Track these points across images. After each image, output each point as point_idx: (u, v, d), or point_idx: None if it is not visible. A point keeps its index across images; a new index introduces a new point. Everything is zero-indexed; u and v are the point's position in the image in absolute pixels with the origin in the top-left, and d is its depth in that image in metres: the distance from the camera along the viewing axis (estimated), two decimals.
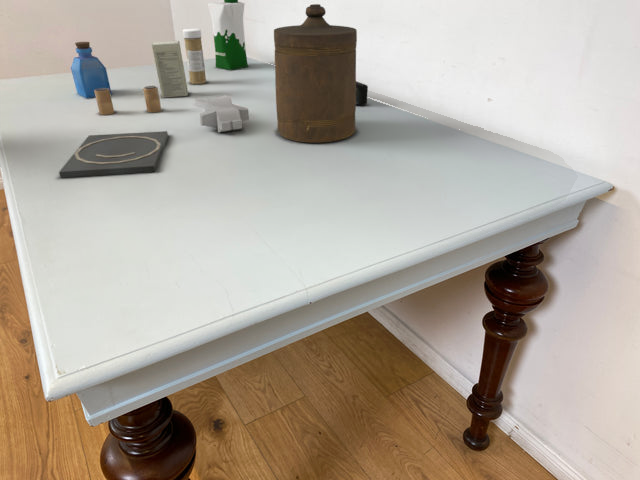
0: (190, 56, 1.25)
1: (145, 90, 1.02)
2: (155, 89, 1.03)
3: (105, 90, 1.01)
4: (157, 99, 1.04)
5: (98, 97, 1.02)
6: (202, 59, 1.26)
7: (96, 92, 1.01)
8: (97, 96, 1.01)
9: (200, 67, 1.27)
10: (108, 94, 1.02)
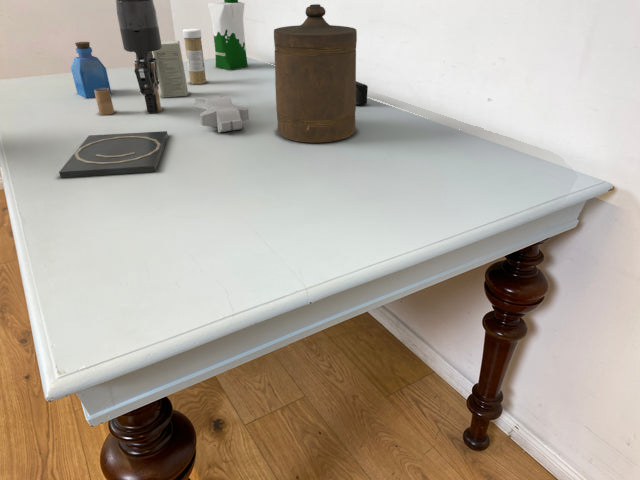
0: (190, 56, 1.25)
1: None
2: (155, 89, 1.03)
3: (105, 90, 1.01)
4: (157, 99, 1.04)
5: (98, 97, 1.02)
6: (202, 59, 1.26)
7: (96, 92, 1.01)
8: (97, 96, 1.01)
9: (200, 67, 1.27)
10: (108, 94, 1.02)
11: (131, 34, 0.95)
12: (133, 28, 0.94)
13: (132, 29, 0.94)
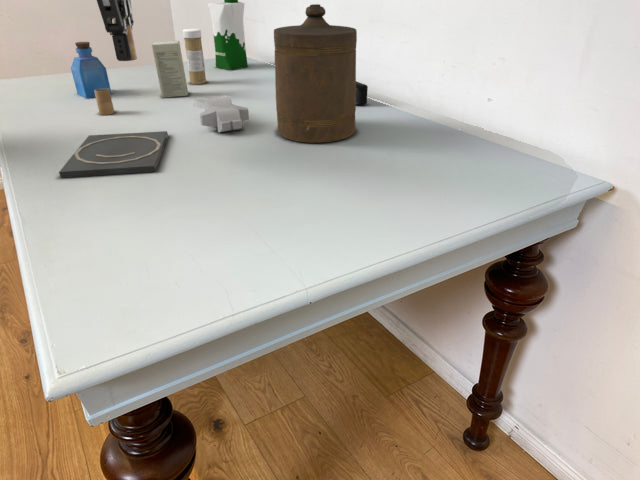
0: (190, 56, 1.25)
1: None
2: (127, 28, 0.75)
3: (105, 90, 1.01)
4: (130, 42, 0.76)
5: (98, 97, 1.02)
6: (202, 59, 1.26)
7: (96, 92, 1.01)
8: (97, 96, 1.01)
9: (200, 67, 1.27)
10: (108, 94, 1.02)
11: None
12: None
13: None
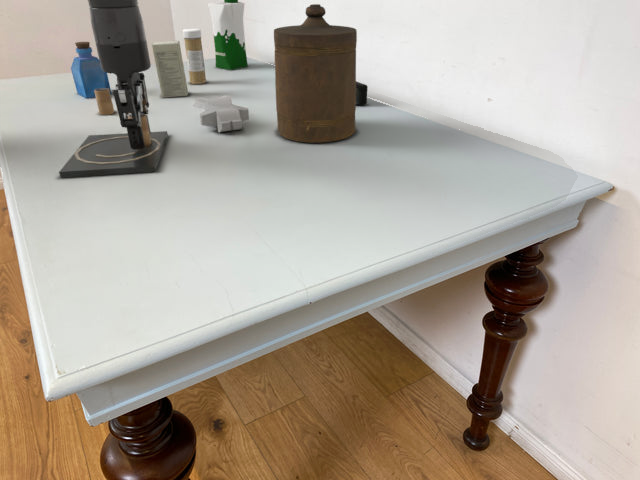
0: (190, 56, 1.25)
1: None
2: (143, 118, 0.81)
3: (105, 90, 1.01)
4: (146, 130, 0.82)
5: (98, 97, 1.02)
6: (202, 59, 1.26)
7: (96, 92, 1.01)
8: (97, 96, 1.01)
9: (200, 67, 1.27)
10: (108, 94, 1.02)
11: (110, 51, 0.72)
12: (112, 43, 0.72)
13: (111, 44, 0.72)
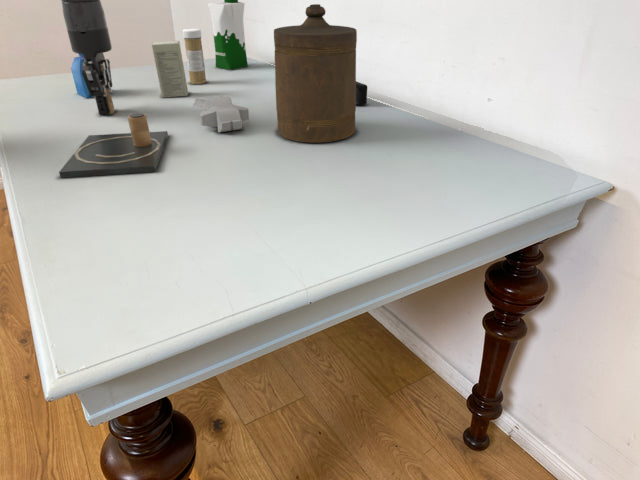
0: (190, 56, 1.25)
1: (130, 119, 0.80)
2: (143, 118, 0.81)
3: None
4: (146, 130, 0.82)
5: None
6: (202, 59, 1.26)
7: None
8: None
9: (200, 67, 1.27)
10: (108, 94, 1.02)
11: (78, 36, 0.93)
12: (79, 29, 0.93)
13: (78, 30, 0.93)
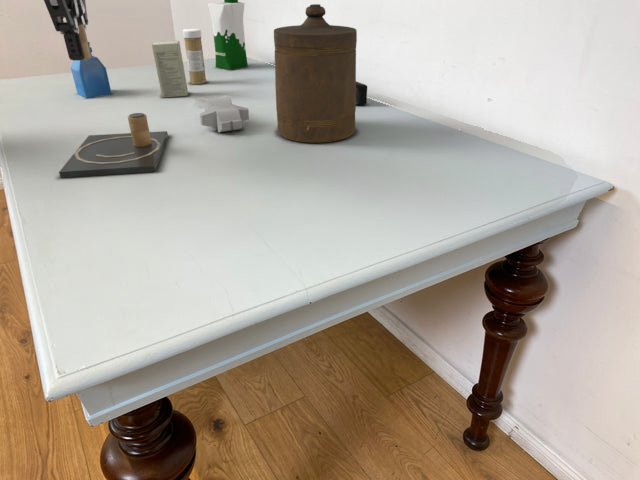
0: (190, 56, 1.25)
1: (130, 119, 0.80)
2: (143, 118, 0.81)
3: (78, 25, 0.74)
4: (146, 130, 0.82)
5: None
6: (202, 59, 1.26)
7: None
8: None
9: (200, 67, 1.27)
10: (82, 31, 0.75)
11: None
12: None
13: None
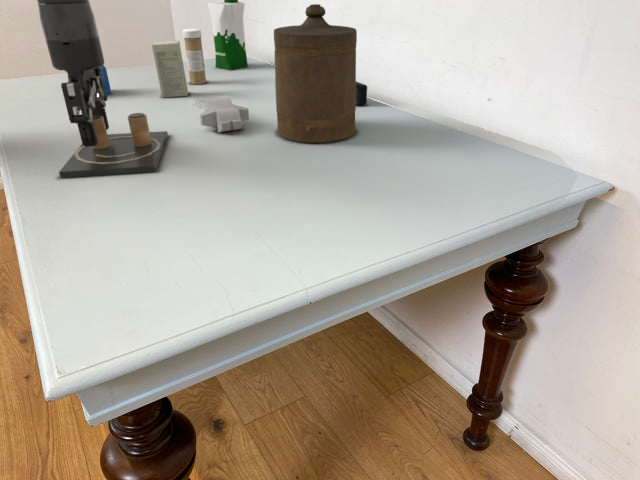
0: (190, 56, 1.25)
1: (130, 119, 0.80)
2: (143, 118, 0.81)
3: (98, 119, 0.79)
4: (146, 130, 0.82)
5: None
6: (202, 59, 1.26)
7: None
8: None
9: (200, 67, 1.27)
10: (102, 123, 0.80)
11: (59, 47, 0.71)
12: (61, 39, 0.70)
13: (60, 41, 0.71)
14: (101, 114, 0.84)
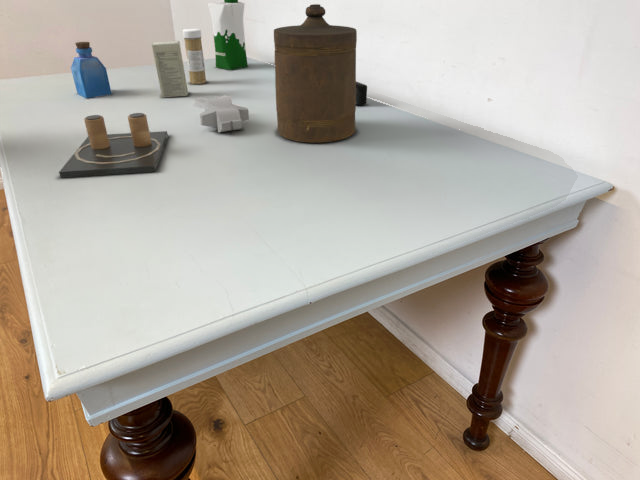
0: (190, 56, 1.25)
1: (130, 119, 0.80)
2: (143, 118, 0.81)
3: (98, 119, 0.79)
4: (146, 130, 0.82)
5: (89, 127, 0.79)
6: (202, 59, 1.26)
7: (86, 121, 0.79)
8: (88, 126, 0.79)
9: (200, 67, 1.27)
10: (102, 123, 0.80)
11: None
12: None
13: None
14: None
